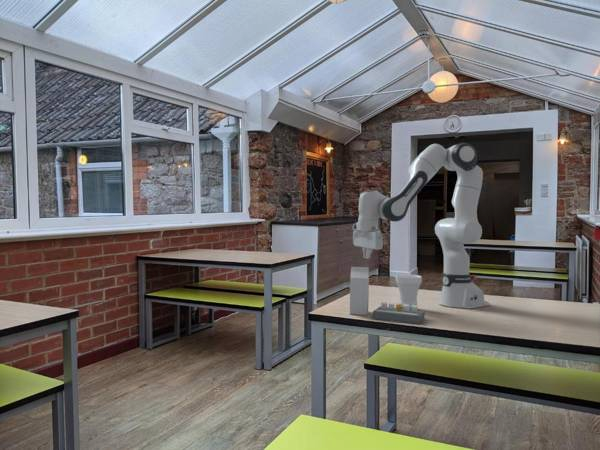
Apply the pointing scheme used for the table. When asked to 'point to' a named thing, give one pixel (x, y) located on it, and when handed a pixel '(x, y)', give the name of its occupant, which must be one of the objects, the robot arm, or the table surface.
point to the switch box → (399, 314)
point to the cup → (408, 288)
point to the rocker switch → (399, 307)
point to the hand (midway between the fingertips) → (366, 258)
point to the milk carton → (359, 290)
